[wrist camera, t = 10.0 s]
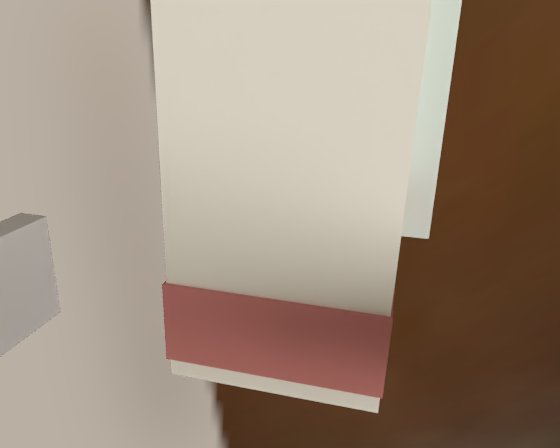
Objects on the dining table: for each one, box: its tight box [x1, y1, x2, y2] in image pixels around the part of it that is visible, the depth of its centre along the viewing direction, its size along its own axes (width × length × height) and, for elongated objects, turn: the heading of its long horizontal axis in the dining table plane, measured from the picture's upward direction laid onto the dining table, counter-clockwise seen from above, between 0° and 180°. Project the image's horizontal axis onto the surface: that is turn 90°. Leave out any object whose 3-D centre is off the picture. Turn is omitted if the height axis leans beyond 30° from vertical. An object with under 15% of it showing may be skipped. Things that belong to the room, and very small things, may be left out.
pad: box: [401, 0, 462, 239], centre depth 19 cm, size 14×8×1 cm, turn 179°
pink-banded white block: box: [150, 0, 432, 413], centre depth 14 cm, size 14×5×11 cm, turn 178°
